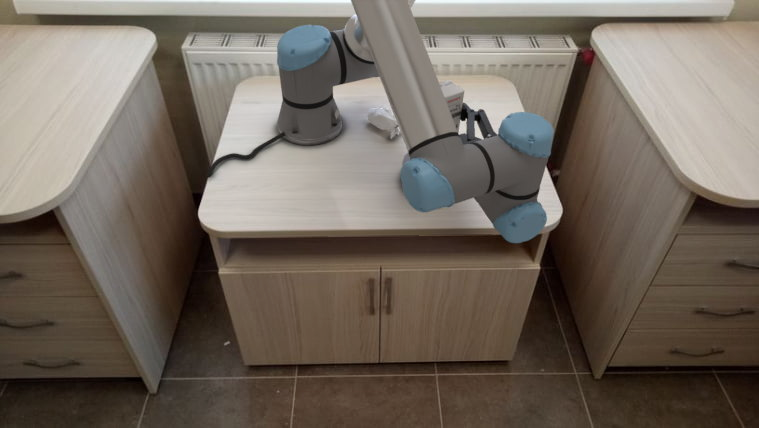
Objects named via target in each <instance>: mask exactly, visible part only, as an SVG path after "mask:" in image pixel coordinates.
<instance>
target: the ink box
mask: <svg viewBox="0 0 759 428" xmlns="http://www.w3.org/2000/svg"><path fill="white" fill-rule="evenodd" d="M438 82H439V84H440V87H441V89H442V92H443V95H444V97H445V100H446V102H447V105H448V108H449V110H450V113H451V115H452V118H453V121H454V123H455V126H456V128H457V131H458V133H459V132H460V125H461V120H460V118H461V111H462V104H463V103H464V98H465V97H464V96H465V90H464V89H463V88H462V87H460V86H459V85H457V84H456V83H455V82H453V81H452V80H451V79H446V80H443V81H438Z"/></svg>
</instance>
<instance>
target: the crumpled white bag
mask: <svg viewBox="0 0 759 428" xmlns="http://www.w3.org/2000/svg"><path fill="white" fill-rule="evenodd" d="M365 122H367V123H369V124H371V125H373V126H374V127H376V128H377V129H379V130H380V131H390V134H389V136H390V138H389V139H390V140H393V138H396V135H397V136H398V135H400V134H399V133H400V129H399V126H398V124H397V121H396V118H395V116H394V114H393V112H391V110H390V109H389V108H388V107H385V106H383V107H382V108H379V107H371V108H369V109H368V111H367V114H366V120H365Z"/></svg>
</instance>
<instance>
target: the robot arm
mask: <svg viewBox="0 0 759 428" xmlns="http://www.w3.org/2000/svg"><path fill="white" fill-rule="evenodd" d="M350 2H351V5H352V7H353V10H354V14H353V15H352V16H351V17H349V19H348V20H347V22H346V24H345V26H344V28H342V29H336V30H332V31H329V29H328V28H327V27H325V26H322V25H318V24H314V25H312V24H304V25H299V26H296V27H293V28H291V29H289V30H288V31H286V32H284V34H282V36H281V37H280V38H279V39H278V41H277V46H276V63H277V66H278V73H279V81H280V90H281V97H282V100H281V101H282V102H281V105H280V108H279V114H278V117H277V129H278V133H279V134H277V135H275V136H273V137H272V138H270V139H268V140H266V141H265V142H263V143H261V144H260V145H258V146H257V147H255V148H254V149H253V150H252V151H251V152H250V153H249V154H241V153H234V152H233V153H229V154H225V155H223V156H220V157H218V158H217V159H216V160H214V162H213V163H212V164H211V165H210V167H209V169H208V170H207V172H206V174H205V179H208V178H209V179H210V178H211V176H212V174H213V173H214V171H215V169H216V168H217V167H218V166H219V165H220V164H221V163H222V162H224V161H226V160H229V159H234V158H236V159H240V160H250V159H252V158H254V157H255V156H256V154H257V153H258V152H260V151H261V150H263V149H264V148H266V147H268V146H270V145H272V144H273V143H275V142H277V141H279V140H281V139H282V138H283V139H284V140H286V141H288V142H290V143H292V144H296V145H300V146H315V145H321V144H325V143H327V142H330V141H333V140H334V139H335V138H336V137H338V135H339V134H340V133H341V131H342V129H343V117H342V114H341V111H340V109H339V106H338V105H337V102H336V100H335V98H334V87H337V86H341V85H345V84H349V83H355V82H359V81H364V80H367V79H372V78H379V79H380V81H381V84H382V86H383V89H384V93H385V94H386V97H387V100H388V103H389V105H390V108H391V110H392V114H393V115H394V116H395V118H396V121H397V124H398V126H399V127H398V130H399V133H400V135H401V137H402V139H403V142H404V145H405V148H406V150H407V153H409V156H410V161H407V162H406V163H404V165H403V164H402V165H401V168H400V182H401V189H402V192H403V195H404V197H405V199H406V200H407V203H408V204H409V205H410V207H412V209H414V210H415V211H417V212H419V213H428V212H432V211H435V210H439V209H440V210H441V209H443V208H451V207H453V206H454V205H456V204H459V203H463V202H466V201H468V200H471V199H474V200H475V201H476V203H478V206H479V207H480V208H481V209H482V211H483V212H484V214H485V215H486V217H487V218H488V220H489V221H490V223H491V224H492V226H493V228H494V229H495V230H496V231H497V232H498V233H499V234H500V235H501V237H502V238H503V239H504V240H505V241H507V242H508V243H511V244H521V243H524V242H529V241H530V240H532V239H533V238H535V237H537V236H538V235H539V234H540V233H541V232H542V231H543V229H544V228H545V226H546V224H547V221H548V216H547V212H546V210H545V209H544V208H543V205H542V203H541V202H540V201H538V196H539V194H540V190H541V184H542V181H543V178H544V174H545V170H546V168H547V164H548V161H549V158H550V156H551V154H552V147H553V142H554V135H555V131H554V127H553V125H552V123H550V122H549V121H548V120H547V119H546V118H544V117H543V116H542V115H539V114H536V113H534V112H528V111H517V112H513V113H509V114H508V115H507V116H506V117H504V118H503V119H502V120H501V123H500V126H499V127H498V131H497V133H496V132H495V131H494V129H493V126H492V124H491V122H490V120H489V117H488V115H487V113H486V111H485V110H484V109H482V108H480V109H478V110H477V111H476V110H475V109H473V108H471V107H470V106H469V105H468V104H467V103H466V102H463V104H462V111H461V118H460V122H466V123H465V125H466V126H465V127H466V131H465V132H466V133H465V132H464V133H463V132H462V133H460V134H459V132H458V131H457V128H456V126H455V123H454V121H453V118H452V115H451V113H450V110H449V108H448V105H447V102H446V100H445V97H444V95H443V92H442V89H441V87H440V84H439V82H440V81H439V79H438V77H437V74H436V71H435V69H434V66H433V64H432V61H431V59H430V55H429V53H428V50H427V48H426V45H425V43H424V40H423V37H422V35H421V32H420V30H419V27H418V25H417V22H416V19H415V17H414V14H413V11H412V9H411V8H412V7H413V5H414V4H415V2H416V0H350ZM475 122H476V124H477V126H478V129H479V131H480V133H481V135H482V138H479V137H477V136H476V128H475Z"/></svg>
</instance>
